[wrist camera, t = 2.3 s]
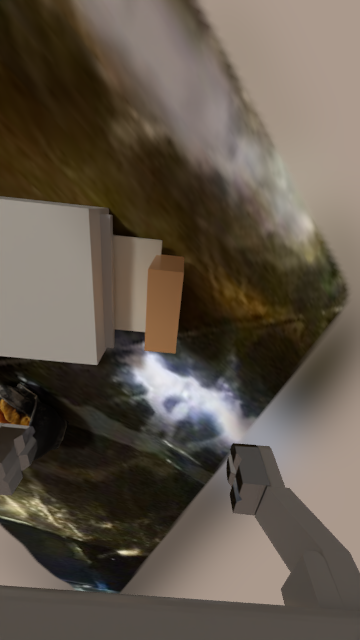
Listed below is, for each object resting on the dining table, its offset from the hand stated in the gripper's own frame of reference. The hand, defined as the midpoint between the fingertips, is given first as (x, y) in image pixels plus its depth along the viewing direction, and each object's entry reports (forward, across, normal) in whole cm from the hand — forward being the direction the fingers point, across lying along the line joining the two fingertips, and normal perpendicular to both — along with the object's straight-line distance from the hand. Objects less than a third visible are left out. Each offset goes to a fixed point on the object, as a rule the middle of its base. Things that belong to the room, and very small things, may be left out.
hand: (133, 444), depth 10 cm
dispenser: (+21, +16, 0) cm, 27 cm away
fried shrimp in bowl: (+22, +21, +19) cm, 36 cm away
